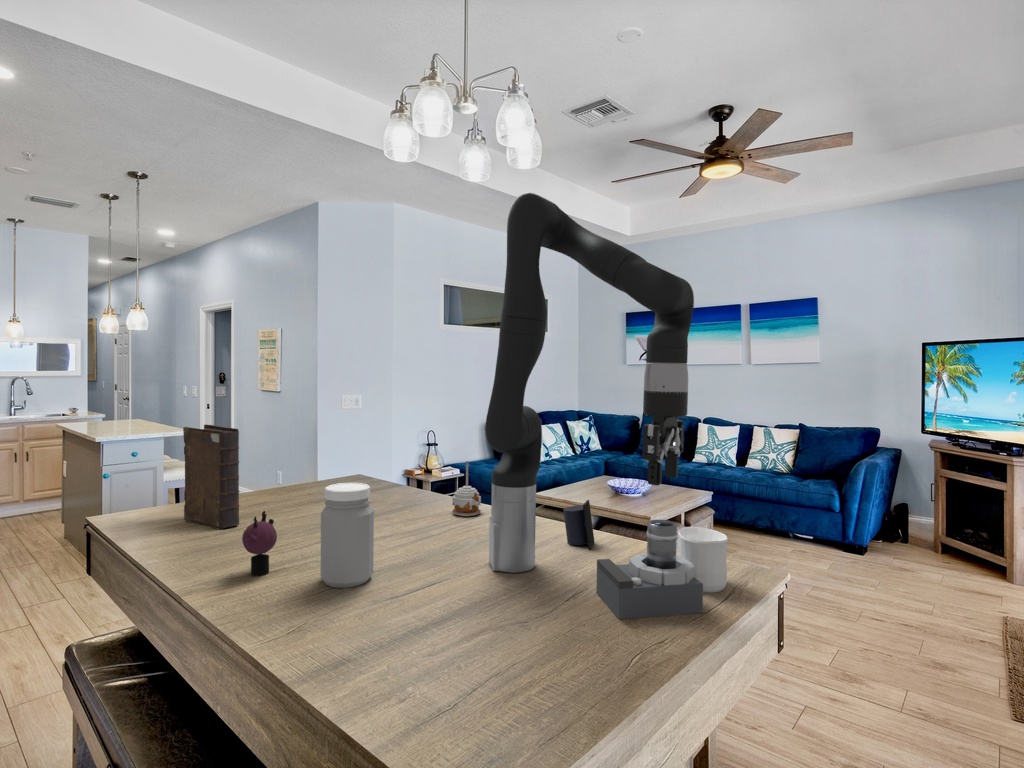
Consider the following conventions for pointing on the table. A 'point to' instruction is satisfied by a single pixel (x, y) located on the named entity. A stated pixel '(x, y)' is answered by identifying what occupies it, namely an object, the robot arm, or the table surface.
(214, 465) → the book
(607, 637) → the table surface
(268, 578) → the table surface
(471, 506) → the decorative ornament
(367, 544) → the jar
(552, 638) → the table surface
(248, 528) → the figurine
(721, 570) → the cup
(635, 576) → the camera body
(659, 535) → the lens
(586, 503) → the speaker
